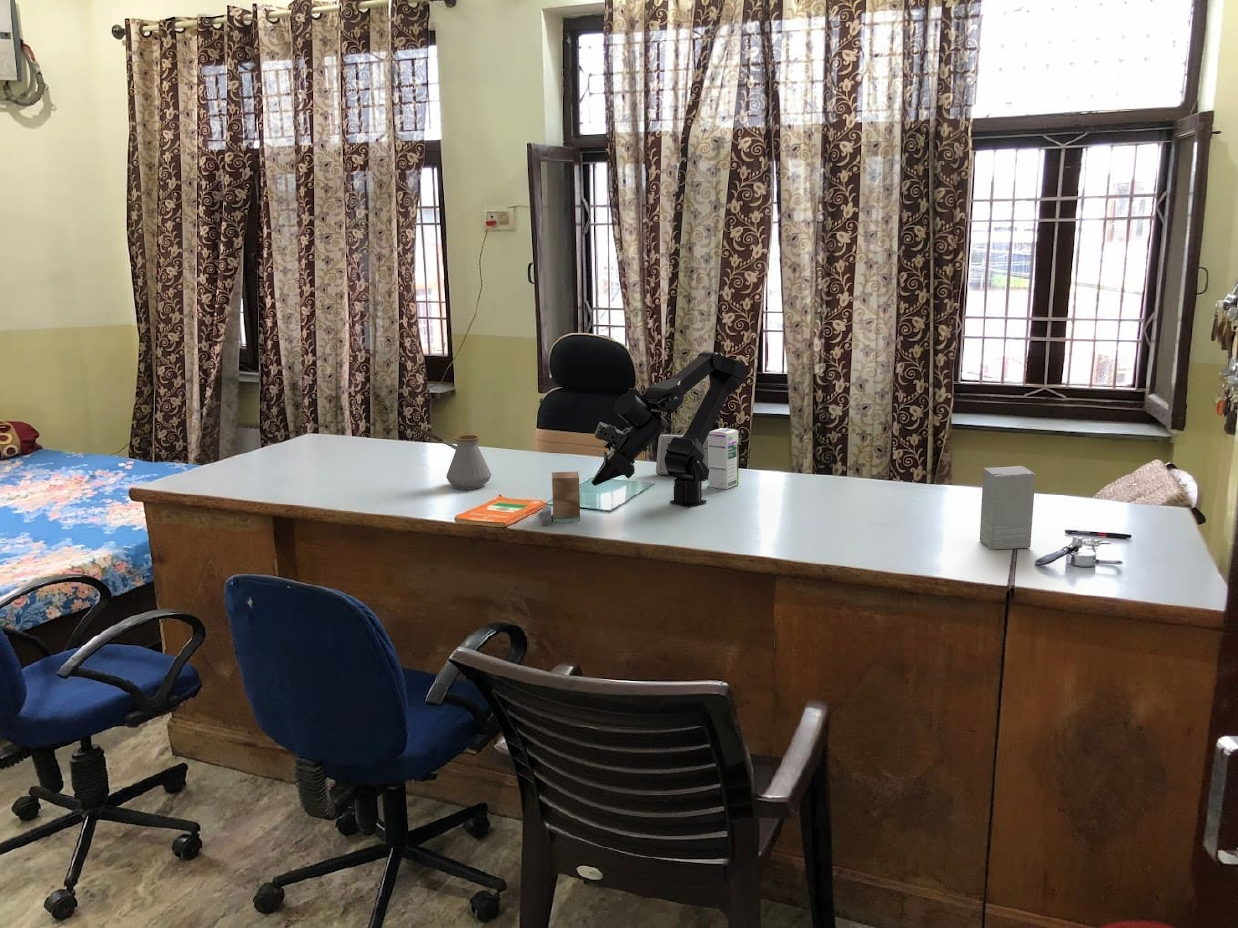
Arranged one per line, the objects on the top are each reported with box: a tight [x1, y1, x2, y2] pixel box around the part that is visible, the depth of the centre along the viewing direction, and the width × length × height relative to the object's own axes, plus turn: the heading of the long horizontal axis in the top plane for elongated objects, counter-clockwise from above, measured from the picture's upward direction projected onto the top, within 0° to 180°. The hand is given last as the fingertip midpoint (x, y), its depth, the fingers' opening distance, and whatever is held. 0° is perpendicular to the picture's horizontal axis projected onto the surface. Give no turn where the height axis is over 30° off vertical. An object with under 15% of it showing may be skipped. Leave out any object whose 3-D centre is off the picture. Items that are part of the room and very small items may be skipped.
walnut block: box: [551, 471, 581, 523], centre depth 222 cm, size 6×6×10 cm
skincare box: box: [979, 465, 1037, 551], centre depth 196 cm, size 8×7×16 cm
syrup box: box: [707, 427, 740, 490], centre depth 248 cm, size 6×6×14 cm
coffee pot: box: [412, 426, 492, 490], centre depth 254 cm, size 21×12×15 cm, turn 69°
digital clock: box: [655, 433, 708, 476], centre depth 262 cm, size 16×9×11 cm, turn 60°
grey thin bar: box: [541, 505, 552, 527], centre depth 222 cm, size 2×12×1 cm, turn 4°
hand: (592, 484), depth 222 cm, fingers closed
